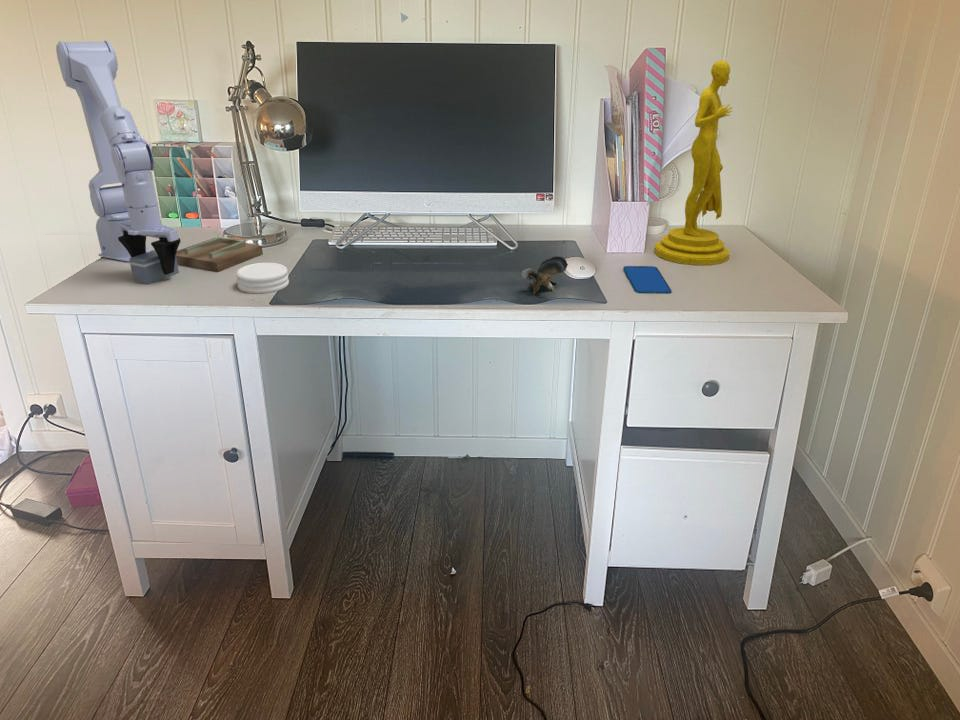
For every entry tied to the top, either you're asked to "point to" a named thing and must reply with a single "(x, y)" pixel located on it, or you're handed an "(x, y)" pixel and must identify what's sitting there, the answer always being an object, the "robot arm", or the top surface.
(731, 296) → the top surface
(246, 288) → the white short ridged cylinder
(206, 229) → the top surface
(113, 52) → the robot arm
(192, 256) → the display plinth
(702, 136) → the statue
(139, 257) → the blue-grey lidded box
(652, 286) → the smartphone
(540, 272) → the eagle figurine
